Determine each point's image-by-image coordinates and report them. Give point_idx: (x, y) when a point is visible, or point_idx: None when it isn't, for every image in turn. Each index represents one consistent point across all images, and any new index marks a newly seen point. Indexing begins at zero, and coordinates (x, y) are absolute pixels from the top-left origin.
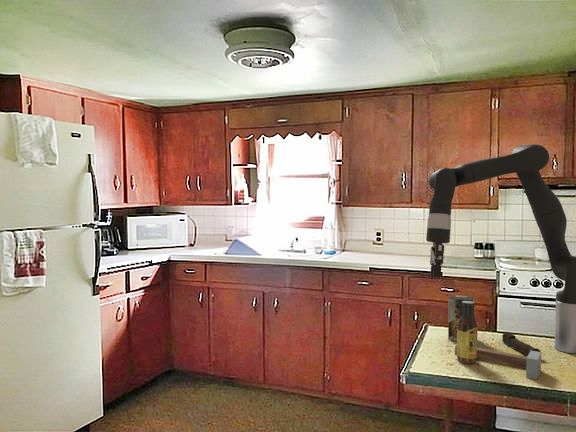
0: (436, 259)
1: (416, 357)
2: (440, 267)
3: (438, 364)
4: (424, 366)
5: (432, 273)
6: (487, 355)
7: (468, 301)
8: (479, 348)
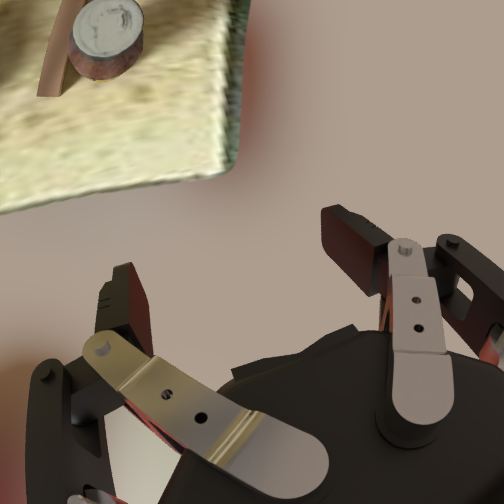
0: (458, 290)
1: (125, 181)
2: (380, 240)
3: (155, 119)
4: (181, 148)
5: (144, 308)
6: (83, 6)
7: (91, 24)
8: (57, 28)
